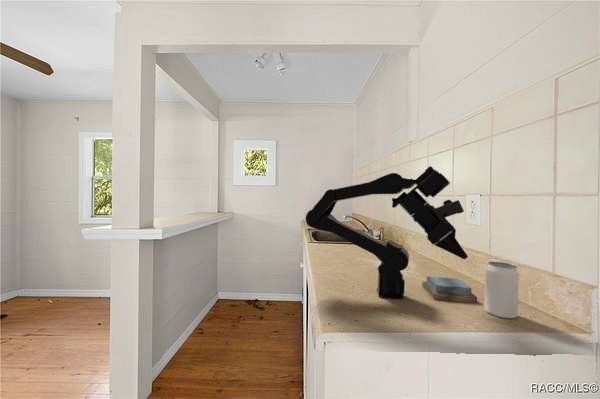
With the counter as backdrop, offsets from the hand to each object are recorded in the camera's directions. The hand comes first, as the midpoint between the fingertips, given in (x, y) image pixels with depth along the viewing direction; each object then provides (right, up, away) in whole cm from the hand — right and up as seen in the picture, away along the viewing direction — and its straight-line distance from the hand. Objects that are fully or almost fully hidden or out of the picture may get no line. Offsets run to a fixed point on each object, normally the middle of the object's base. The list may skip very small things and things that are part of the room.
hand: (464, 254), depth 70 cm
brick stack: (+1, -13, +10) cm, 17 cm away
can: (+7, -14, -3) cm, 16 cm away
